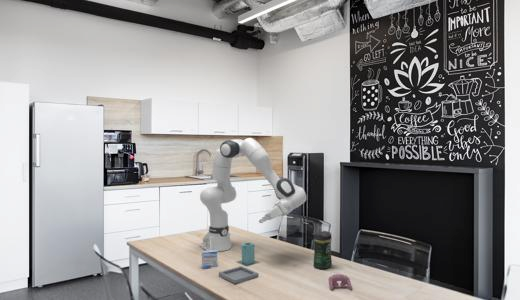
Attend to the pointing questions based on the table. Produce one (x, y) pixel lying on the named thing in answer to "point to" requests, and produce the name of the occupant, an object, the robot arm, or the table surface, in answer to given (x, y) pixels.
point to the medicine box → (209, 259)
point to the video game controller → (339, 277)
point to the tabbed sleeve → (248, 253)
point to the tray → (238, 275)
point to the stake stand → (248, 264)
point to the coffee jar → (322, 250)
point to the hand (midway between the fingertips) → (260, 222)
